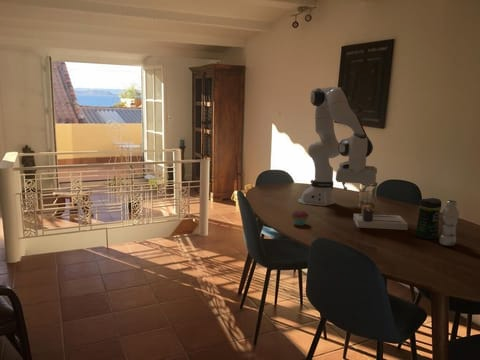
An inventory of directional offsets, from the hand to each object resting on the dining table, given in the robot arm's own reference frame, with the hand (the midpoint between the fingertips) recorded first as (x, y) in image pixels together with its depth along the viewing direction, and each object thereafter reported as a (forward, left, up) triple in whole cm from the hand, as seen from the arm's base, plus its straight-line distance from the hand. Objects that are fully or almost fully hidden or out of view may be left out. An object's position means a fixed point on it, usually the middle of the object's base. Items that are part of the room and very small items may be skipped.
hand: (354, 191), depth 209 cm
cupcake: (-28, -13, -16) cm, 35 cm away
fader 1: (+7, 0, -13) cm, 14 cm away
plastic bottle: (+36, -34, -16) cm, 52 cm away
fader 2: (+6, -9, -13) cm, 17 cm away
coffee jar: (+31, -23, -16) cm, 42 cm away
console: (+13, -5, -16) cm, 21 cm away
